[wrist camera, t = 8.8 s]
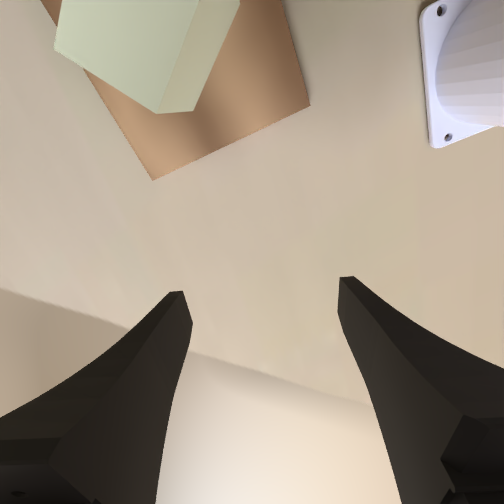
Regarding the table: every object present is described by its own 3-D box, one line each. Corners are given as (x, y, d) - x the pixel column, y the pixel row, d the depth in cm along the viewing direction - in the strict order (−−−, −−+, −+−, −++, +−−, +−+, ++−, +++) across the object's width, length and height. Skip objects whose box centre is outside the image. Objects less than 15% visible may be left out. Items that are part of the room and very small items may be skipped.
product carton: (240, 4, 14) (227, -76, 8) (193, 111, 16) (156, 113, 10) (168, -55, 13) (89, -200, 7) (129, 69, 15) (47, 45, 9)
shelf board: (224, -190, 11) (217, -260, 9) (308, 105, 17) (315, 105, 15) (26, -35, 14) (-17, -61, 12) (156, 178, 19) (143, 187, 17)
